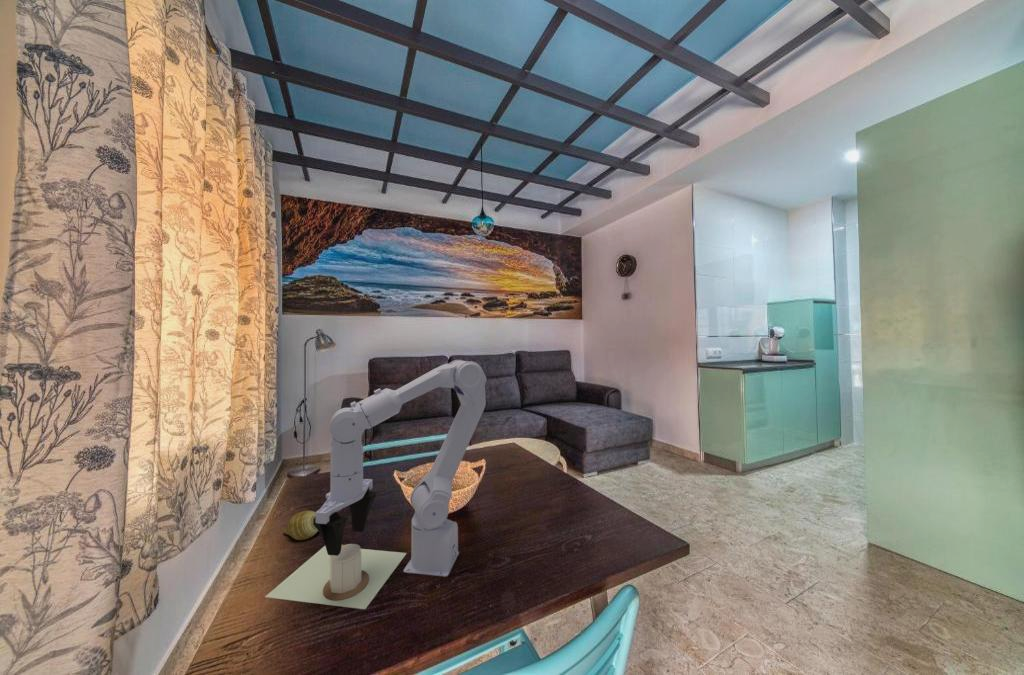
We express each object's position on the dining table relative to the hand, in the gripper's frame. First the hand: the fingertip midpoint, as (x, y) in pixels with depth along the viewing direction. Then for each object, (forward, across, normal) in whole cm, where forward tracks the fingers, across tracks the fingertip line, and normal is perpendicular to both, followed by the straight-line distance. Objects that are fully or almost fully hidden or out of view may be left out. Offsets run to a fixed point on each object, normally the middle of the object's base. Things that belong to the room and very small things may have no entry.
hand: (347, 541), depth 65 cm
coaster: (+8, 0, 0) cm, 8 cm away
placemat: (+9, -3, -3) cm, 10 cm away
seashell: (+9, -15, -22) cm, 28 cm away
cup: (+8, 0, 0) cm, 8 cm away
